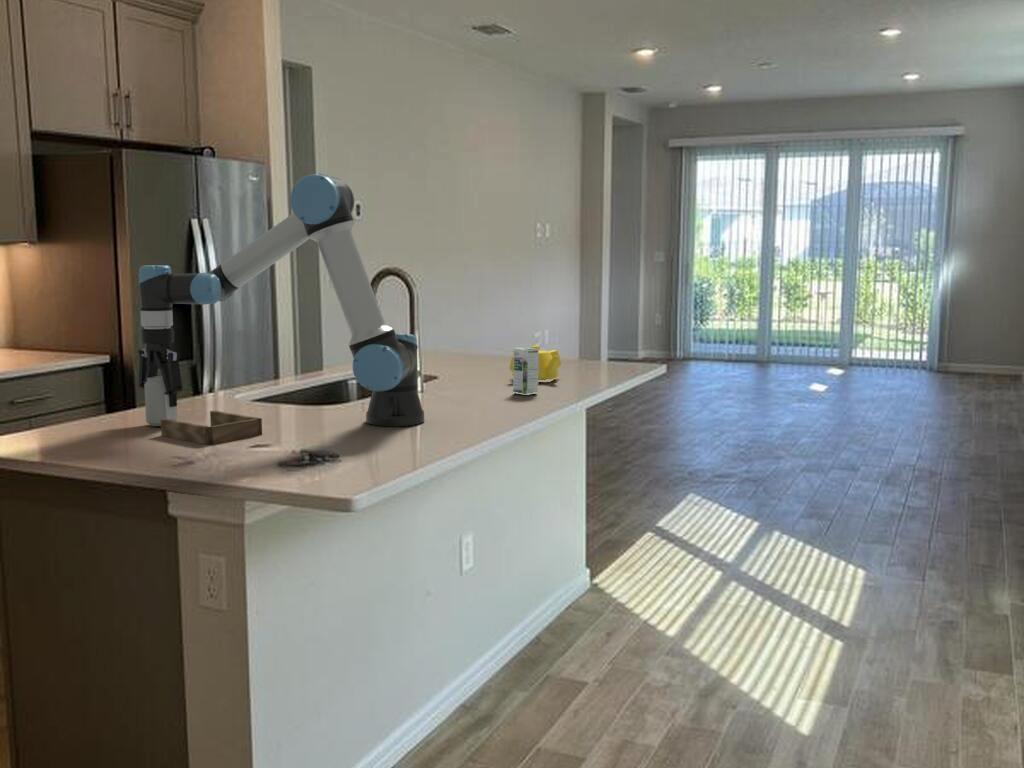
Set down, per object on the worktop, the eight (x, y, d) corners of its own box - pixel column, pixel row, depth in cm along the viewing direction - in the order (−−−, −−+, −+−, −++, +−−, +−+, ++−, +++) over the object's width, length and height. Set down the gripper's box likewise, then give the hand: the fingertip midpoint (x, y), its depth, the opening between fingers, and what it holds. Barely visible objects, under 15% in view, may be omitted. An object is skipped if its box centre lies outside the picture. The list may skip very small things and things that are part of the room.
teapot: (560, 377, 337) (561, 343, 336) (559, 384, 321) (559, 349, 319) (512, 377, 339) (512, 343, 337) (508, 384, 322) (508, 348, 320)
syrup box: (512, 394, 300) (512, 347, 298) (526, 392, 304) (526, 346, 302) (524, 396, 295) (525, 349, 293) (538, 394, 299) (539, 347, 297)
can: (167, 420, 250) (165, 374, 248) (183, 423, 245) (181, 376, 244) (140, 424, 244) (138, 377, 243) (156, 427, 240) (154, 380, 238)
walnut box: (262, 434, 234) (261, 418, 234) (208, 445, 222) (208, 427, 221) (214, 426, 245) (214, 410, 244) (161, 435, 232) (160, 419, 232)
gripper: (195, 328, 239) (199, 419, 242) (146, 324, 250) (151, 411, 254) (168, 330, 233) (173, 424, 236) (120, 326, 244) (125, 415, 248)
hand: (161, 417), depth 245 cm, fingers closed on can, 7 cm apart
